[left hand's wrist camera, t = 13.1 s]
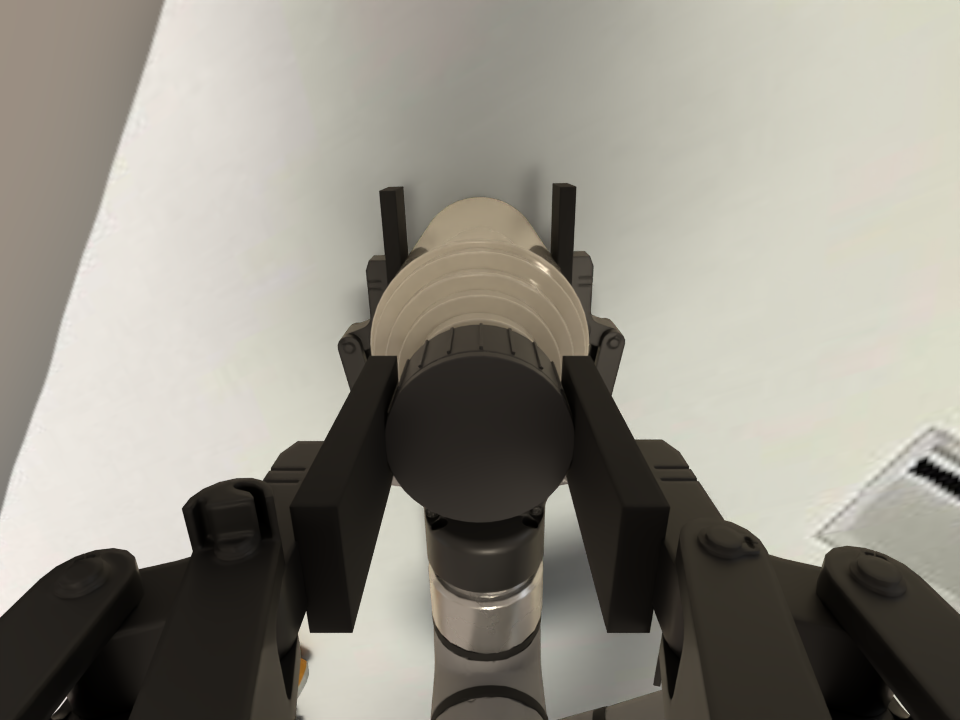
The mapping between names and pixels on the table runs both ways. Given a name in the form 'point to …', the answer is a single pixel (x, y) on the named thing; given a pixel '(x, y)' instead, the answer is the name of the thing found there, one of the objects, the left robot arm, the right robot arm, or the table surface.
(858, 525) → the table surface
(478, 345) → the cap
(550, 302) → the bottle
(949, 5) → the table surface
